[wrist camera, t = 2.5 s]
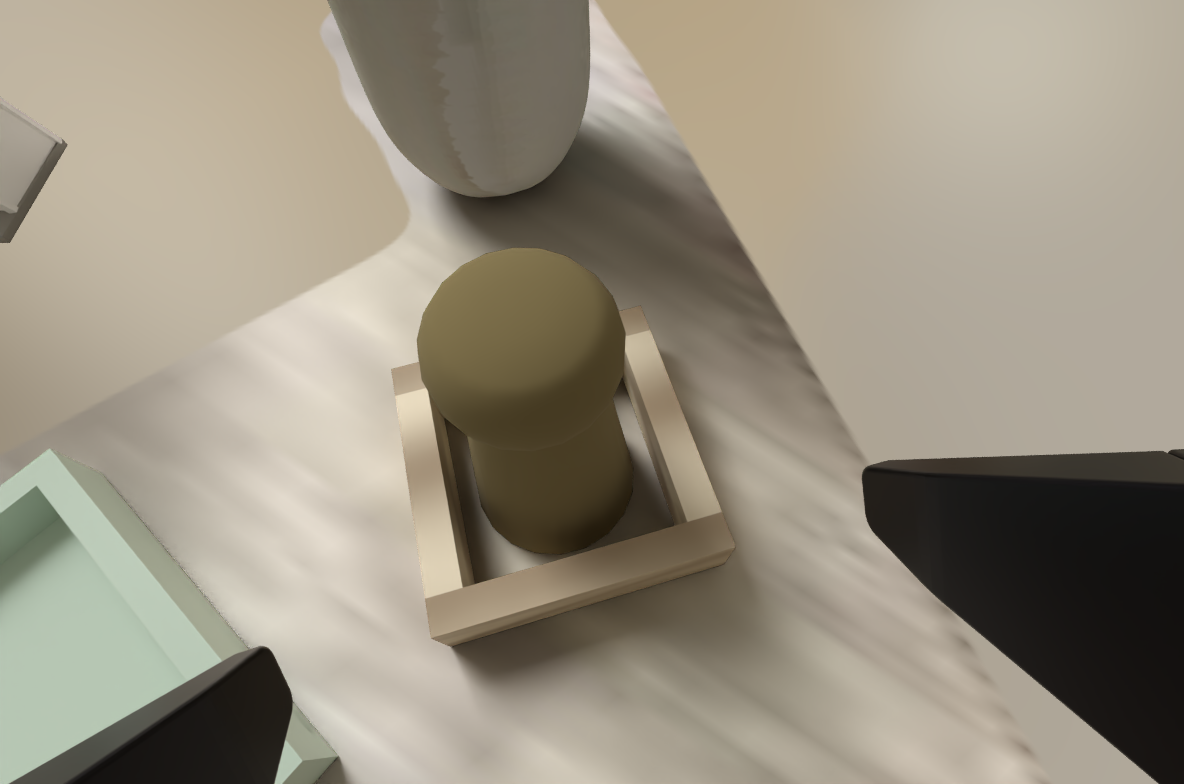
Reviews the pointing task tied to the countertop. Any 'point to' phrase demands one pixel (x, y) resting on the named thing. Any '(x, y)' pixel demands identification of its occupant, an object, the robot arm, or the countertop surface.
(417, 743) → the countertop surface
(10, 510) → the sage green tray
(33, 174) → the skyscraper
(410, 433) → the wooden collar
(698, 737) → the countertop surface
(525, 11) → the grey bottle
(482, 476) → the cork
